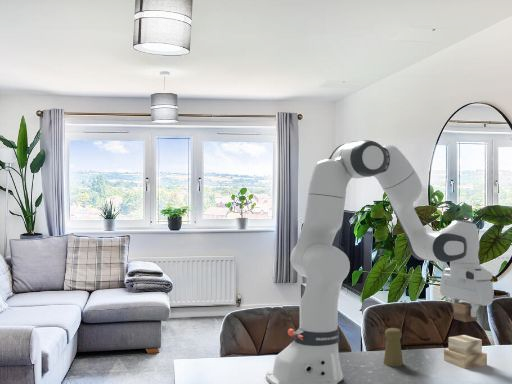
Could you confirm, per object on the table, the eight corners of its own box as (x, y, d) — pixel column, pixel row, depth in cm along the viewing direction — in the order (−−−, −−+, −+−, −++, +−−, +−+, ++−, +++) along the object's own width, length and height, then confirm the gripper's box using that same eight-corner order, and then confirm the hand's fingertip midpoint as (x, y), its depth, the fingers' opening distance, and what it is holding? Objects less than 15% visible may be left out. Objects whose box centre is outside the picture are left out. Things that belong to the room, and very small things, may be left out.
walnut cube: (464, 321, 172) (464, 305, 172) (453, 318, 177) (453, 303, 177) (477, 320, 174) (477, 304, 174) (466, 317, 178) (465, 301, 178)
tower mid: (465, 355, 170) (465, 342, 170) (448, 349, 176) (448, 337, 176) (481, 352, 173) (481, 339, 173) (464, 347, 180) (464, 334, 180)
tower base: (464, 369, 169) (464, 356, 169) (444, 361, 177) (444, 349, 177) (486, 366, 172) (486, 353, 172) (465, 358, 181) (465, 346, 181)
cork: (405, 366, 171) (405, 331, 171) (385, 366, 171) (385, 331, 171) (400, 360, 177) (400, 326, 177) (381, 360, 177) (381, 326, 177)
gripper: (435, 267, 184) (435, 309, 184) (480, 275, 165) (480, 322, 165) (450, 266, 186) (450, 307, 186) (496, 274, 167) (497, 320, 167)
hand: (465, 314), depth 175 cm, fingers closed on walnut cube, 5 cm apart
